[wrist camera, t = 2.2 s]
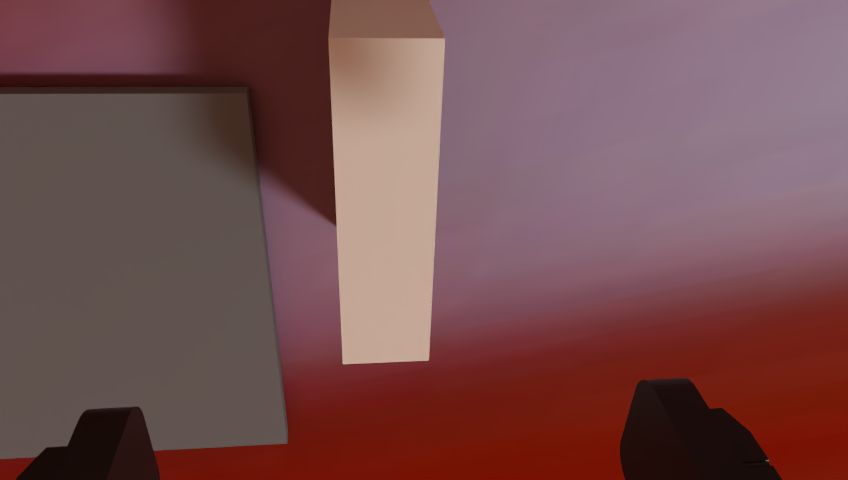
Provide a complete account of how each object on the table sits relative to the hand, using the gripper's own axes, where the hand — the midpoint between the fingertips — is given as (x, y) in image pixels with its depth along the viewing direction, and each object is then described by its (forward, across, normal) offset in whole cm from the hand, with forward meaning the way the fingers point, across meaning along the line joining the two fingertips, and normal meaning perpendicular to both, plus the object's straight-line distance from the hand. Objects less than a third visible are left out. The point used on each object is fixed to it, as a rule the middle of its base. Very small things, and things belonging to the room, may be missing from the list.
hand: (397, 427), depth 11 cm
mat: (+13, +11, +7) cm, 18 cm away
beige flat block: (+13, 0, 0) cm, 13 cm away
